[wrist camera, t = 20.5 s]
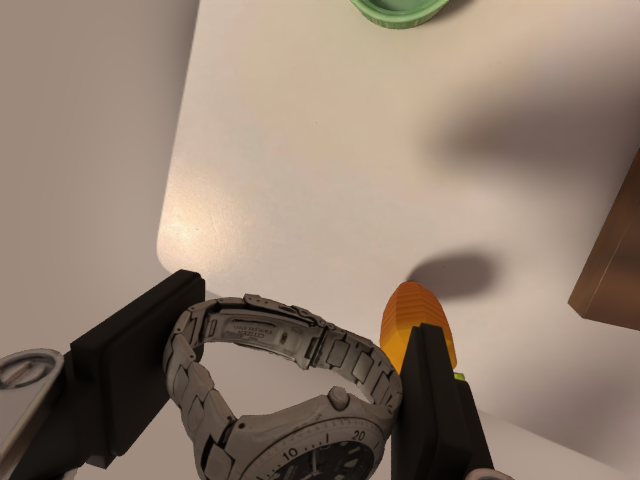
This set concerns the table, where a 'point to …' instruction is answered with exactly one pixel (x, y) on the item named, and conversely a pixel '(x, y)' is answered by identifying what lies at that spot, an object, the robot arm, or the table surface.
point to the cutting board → (614, 263)
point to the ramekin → (399, 11)
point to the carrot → (412, 322)
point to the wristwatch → (291, 423)
